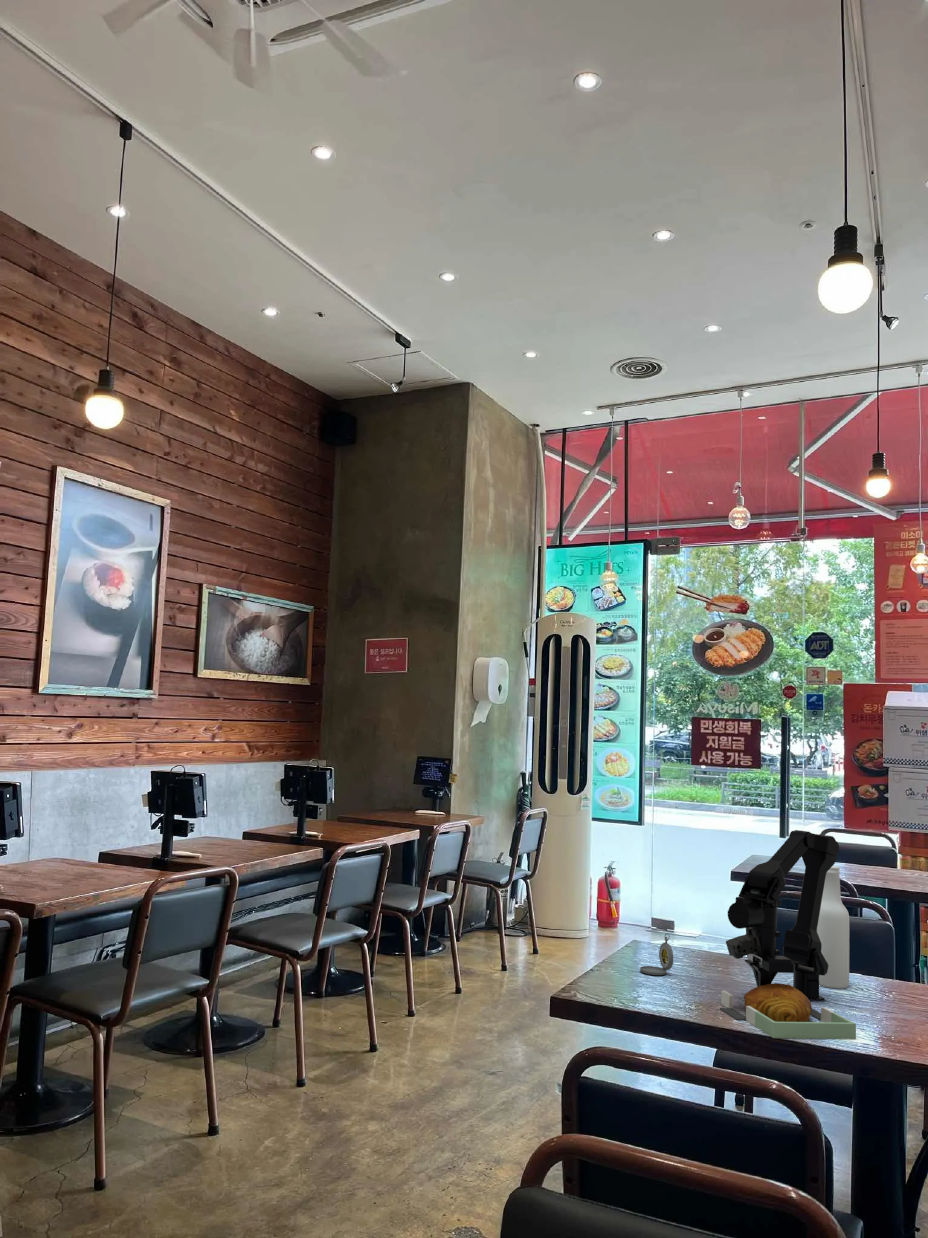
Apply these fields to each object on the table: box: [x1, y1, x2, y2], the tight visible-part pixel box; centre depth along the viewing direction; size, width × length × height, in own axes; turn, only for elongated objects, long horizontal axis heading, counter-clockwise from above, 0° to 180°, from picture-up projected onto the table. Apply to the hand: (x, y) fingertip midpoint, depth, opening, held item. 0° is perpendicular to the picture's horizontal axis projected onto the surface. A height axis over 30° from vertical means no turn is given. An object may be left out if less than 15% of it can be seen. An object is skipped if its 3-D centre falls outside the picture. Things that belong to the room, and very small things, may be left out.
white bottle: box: [817, 864, 850, 990], centre depth 237 cm, size 9×9×30 cm
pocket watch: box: [639, 932, 674, 976], centre depth 236 cm, size 8×8×10 cm
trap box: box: [719, 990, 857, 1040], centre depth 200 cm, size 24×23×3 cm
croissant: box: [743, 982, 813, 1022], centre depth 203 cm, size 14×16×8 cm
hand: (761, 995), depth 210 cm, fingers closed
